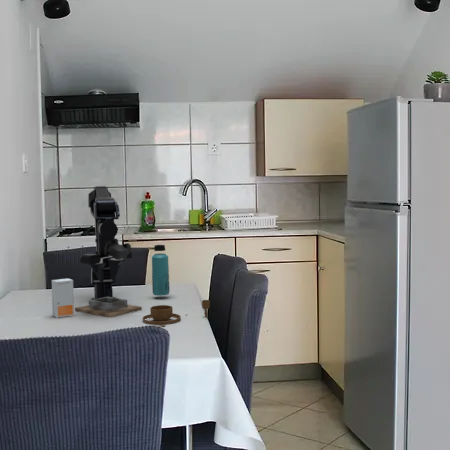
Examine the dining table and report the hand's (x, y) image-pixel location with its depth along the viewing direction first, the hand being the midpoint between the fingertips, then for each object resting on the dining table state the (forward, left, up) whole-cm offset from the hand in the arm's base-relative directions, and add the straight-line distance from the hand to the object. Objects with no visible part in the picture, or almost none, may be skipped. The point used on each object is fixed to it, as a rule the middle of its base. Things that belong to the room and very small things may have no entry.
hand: (107, 281), depth 208 cm
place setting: (+29, +1, -11) cm, 31 cm away
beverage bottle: (0, +26, -10) cm, 28 cm away
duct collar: (0, 0, -10) cm, 10 cm away
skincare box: (-6, -14, -10) cm, 18 cm away
